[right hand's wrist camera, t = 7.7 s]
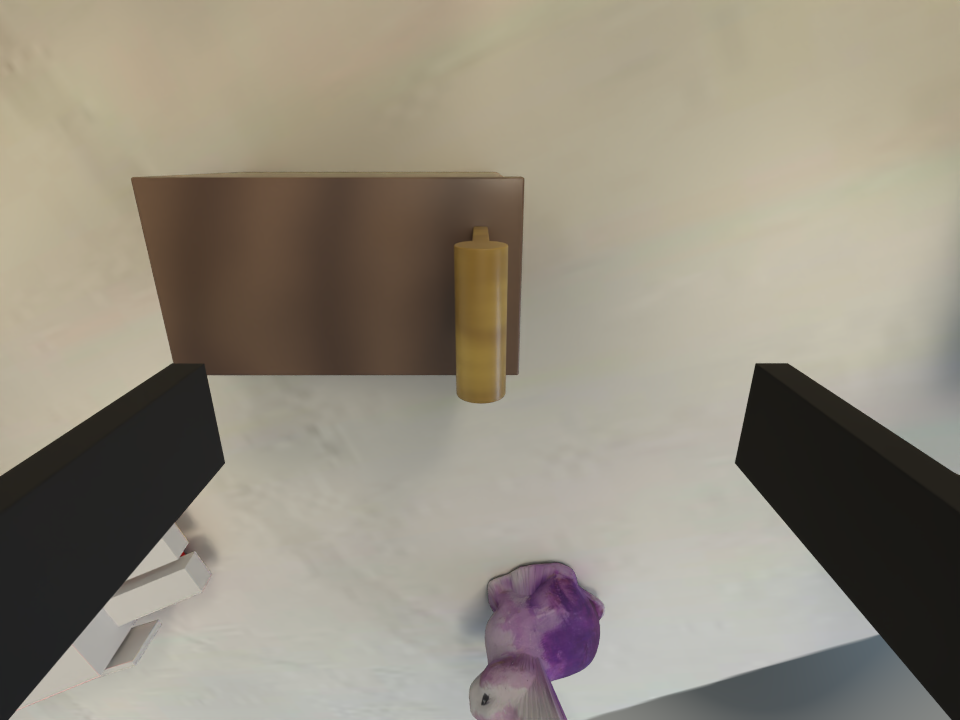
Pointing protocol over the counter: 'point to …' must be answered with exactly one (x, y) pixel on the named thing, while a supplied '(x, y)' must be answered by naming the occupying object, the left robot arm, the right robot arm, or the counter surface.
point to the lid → (340, 275)
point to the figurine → (534, 642)
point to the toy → (128, 617)
